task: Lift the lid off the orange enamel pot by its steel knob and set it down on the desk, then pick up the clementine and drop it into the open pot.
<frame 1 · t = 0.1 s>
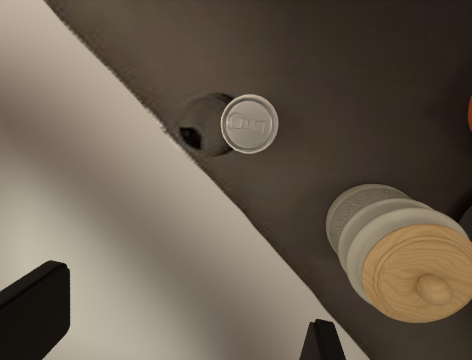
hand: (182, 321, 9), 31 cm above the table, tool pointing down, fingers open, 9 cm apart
can: (253, 123, 38), on the table
jar: (366, 221, 39), on the table
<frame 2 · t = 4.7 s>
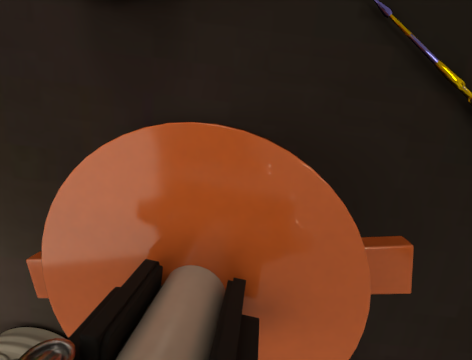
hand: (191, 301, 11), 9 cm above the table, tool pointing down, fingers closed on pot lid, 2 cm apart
pen: (449, 83, 15), on the table
pot lid: (198, 284, 12), point 8 cm above the table, touching gripper, pot
pot: (224, 221, 19), on the table
when the fingers open (2 cm above the table, at t = 11.7 s): pot lid stays where it is, point 1 cm above the table.
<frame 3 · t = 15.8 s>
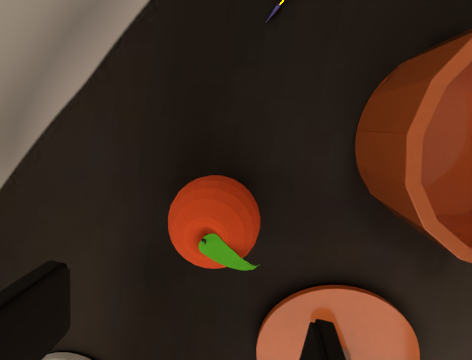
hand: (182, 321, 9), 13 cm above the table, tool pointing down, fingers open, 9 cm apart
pot lid: (333, 352, 24), point 1 cm above the table
pot: (447, 138, 19), on the table
clementine: (226, 209, 23), on the table
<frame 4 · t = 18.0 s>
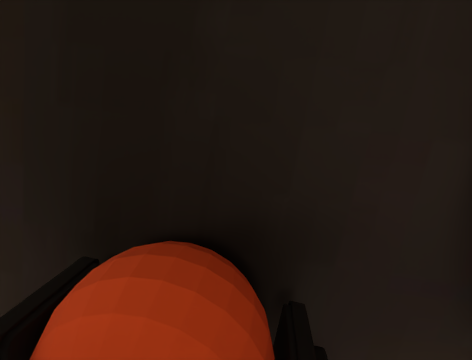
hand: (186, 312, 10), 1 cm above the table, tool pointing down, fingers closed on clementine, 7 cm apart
clementine: (204, 289, 11), on the table, touching gripper
when the fingers open (6 cm above the table, at t = 25.8 s): clementine drops 4 cm, resting on pot.
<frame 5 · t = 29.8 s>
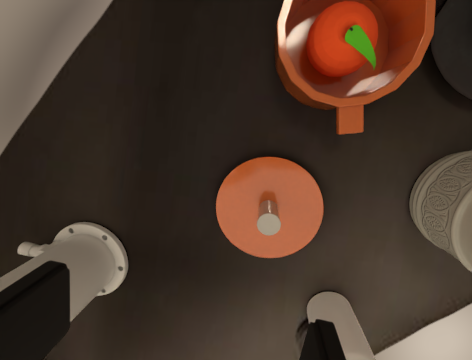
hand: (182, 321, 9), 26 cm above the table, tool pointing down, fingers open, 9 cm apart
can: (327, 307, 38), on the table
pot lid: (268, 208, 35), point 1 cm above the table
pot: (332, 50, 30), on the table
jar: (459, 198, 32), on the table
clementine: (334, 53, 30), resting on pot
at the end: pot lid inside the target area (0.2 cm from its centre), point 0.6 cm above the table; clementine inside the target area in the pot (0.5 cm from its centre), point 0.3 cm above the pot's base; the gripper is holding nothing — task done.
